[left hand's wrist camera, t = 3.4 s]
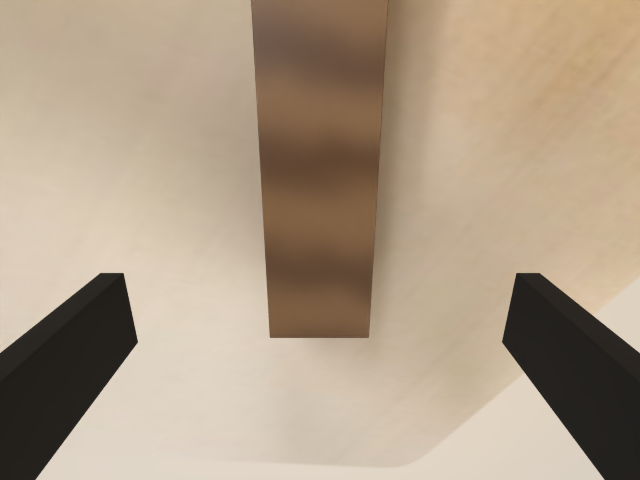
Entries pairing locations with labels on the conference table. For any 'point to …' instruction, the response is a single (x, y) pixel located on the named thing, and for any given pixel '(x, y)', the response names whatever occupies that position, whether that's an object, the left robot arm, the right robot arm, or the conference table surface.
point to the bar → (319, 159)
